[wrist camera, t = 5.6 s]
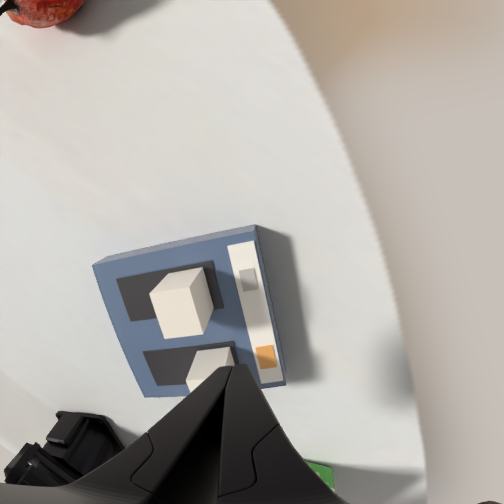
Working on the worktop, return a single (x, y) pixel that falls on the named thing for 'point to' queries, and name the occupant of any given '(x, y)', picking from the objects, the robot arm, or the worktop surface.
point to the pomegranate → (40, 11)
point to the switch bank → (221, 320)
